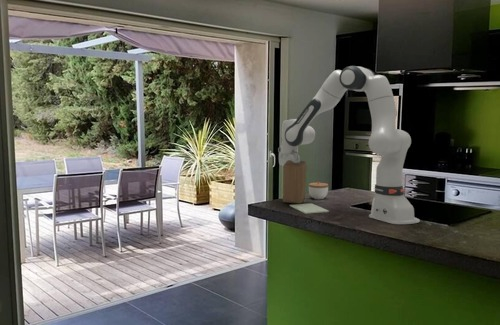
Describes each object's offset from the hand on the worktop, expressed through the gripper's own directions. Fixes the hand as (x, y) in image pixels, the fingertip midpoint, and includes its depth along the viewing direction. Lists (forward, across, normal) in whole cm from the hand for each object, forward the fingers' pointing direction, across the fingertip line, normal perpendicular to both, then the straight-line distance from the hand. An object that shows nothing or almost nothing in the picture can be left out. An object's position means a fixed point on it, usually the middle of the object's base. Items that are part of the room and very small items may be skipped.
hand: (289, 176), depth 239 cm
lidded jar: (+13, +1, -18) cm, 22 cm away
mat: (+13, -22, -1) cm, 25 cm away
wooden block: (+12, -7, 0) cm, 14 cm away
